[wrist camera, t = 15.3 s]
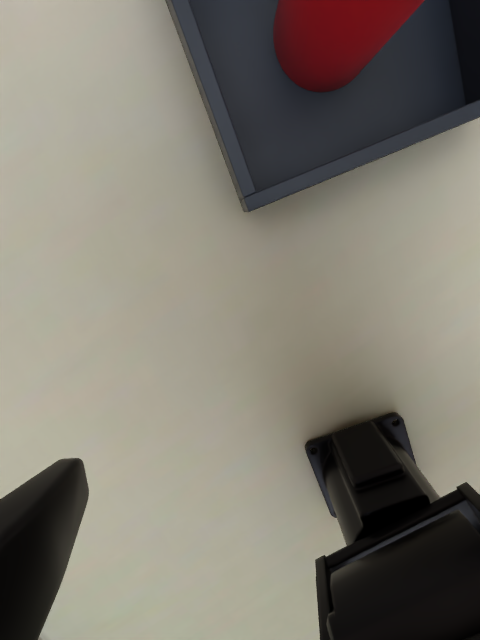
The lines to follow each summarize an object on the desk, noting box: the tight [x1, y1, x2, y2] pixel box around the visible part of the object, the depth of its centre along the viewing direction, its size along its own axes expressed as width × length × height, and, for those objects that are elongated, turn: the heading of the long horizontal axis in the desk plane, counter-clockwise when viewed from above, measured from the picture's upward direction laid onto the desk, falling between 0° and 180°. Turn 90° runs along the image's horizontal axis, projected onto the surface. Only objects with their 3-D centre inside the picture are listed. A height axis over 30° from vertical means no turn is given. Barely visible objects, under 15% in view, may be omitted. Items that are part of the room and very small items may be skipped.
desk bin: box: [166, 0, 480, 212], centre depth 14 cm, size 12×12×5 cm
